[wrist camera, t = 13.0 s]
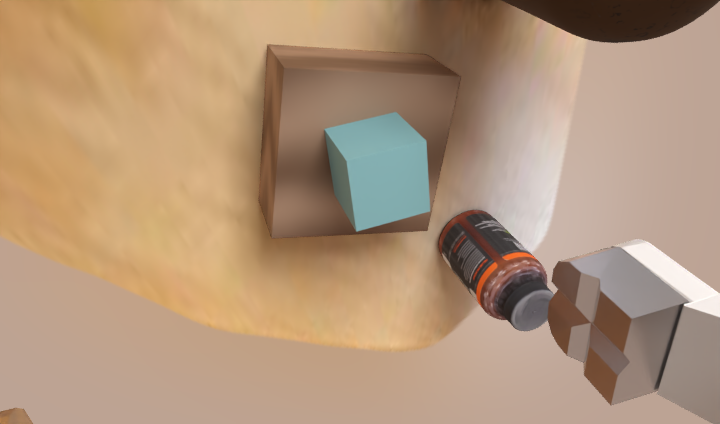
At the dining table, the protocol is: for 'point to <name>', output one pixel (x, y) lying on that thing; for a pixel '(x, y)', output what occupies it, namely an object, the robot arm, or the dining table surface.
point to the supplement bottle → (496, 269)
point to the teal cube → (378, 170)
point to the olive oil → (616, 16)
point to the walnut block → (337, 107)
